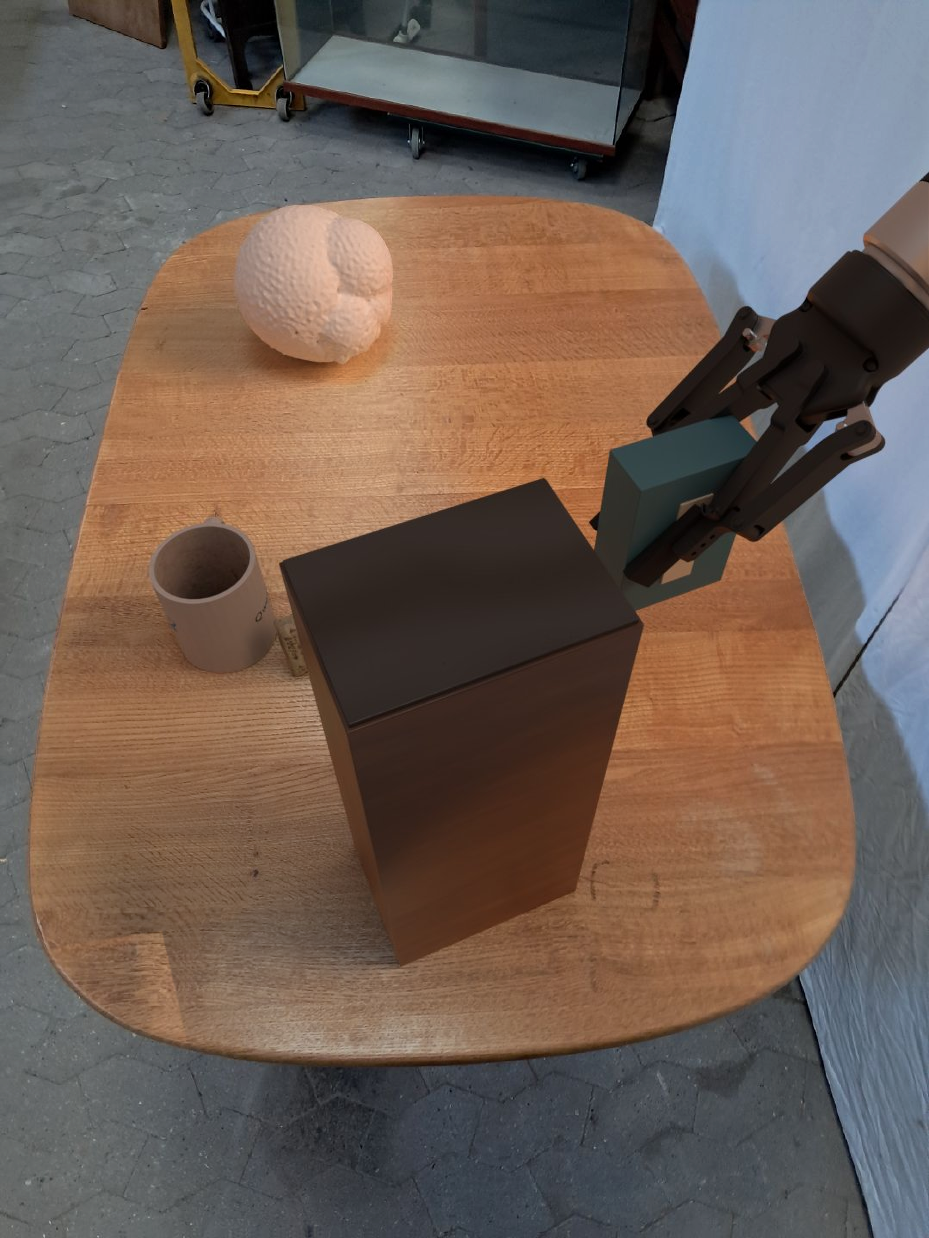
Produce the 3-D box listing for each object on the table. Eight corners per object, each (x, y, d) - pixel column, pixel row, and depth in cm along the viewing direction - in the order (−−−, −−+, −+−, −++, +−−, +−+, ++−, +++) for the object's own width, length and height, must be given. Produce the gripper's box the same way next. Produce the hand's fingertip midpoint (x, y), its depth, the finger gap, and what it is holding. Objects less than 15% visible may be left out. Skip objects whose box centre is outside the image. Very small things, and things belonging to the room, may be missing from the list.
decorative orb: (247, 300, 112) (218, 172, 99) (390, 286, 113) (380, 158, 100) (250, 407, 100) (218, 277, 87) (410, 389, 101) (401, 259, 89)
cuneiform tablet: (429, 647, 81) (302, 700, 77) (408, 618, 84) (285, 667, 80) (419, 587, 76) (283, 640, 72) (398, 558, 79) (266, 608, 76)
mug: (265, 676, 79) (241, 607, 71) (169, 669, 79) (134, 600, 71) (293, 568, 86) (274, 493, 78) (204, 562, 87) (177, 488, 79)
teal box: (722, 582, 68) (766, 451, 57) (615, 620, 66) (642, 492, 55) (692, 543, 70) (730, 411, 60) (588, 579, 68) (609, 449, 57)
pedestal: (575, 890, 67) (645, 620, 40) (399, 967, 64) (345, 730, 37) (518, 778, 73) (546, 473, 46) (353, 843, 70) (277, 558, 42)
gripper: (1019, 399, 52) (709, 657, 61) (833, 245, 61) (590, 489, 71) (989, 344, 46) (653, 637, 56) (789, 184, 56) (532, 458, 65)
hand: (618, 554), depth 63 cm, fingers closed on teal box, 4 cm apart
